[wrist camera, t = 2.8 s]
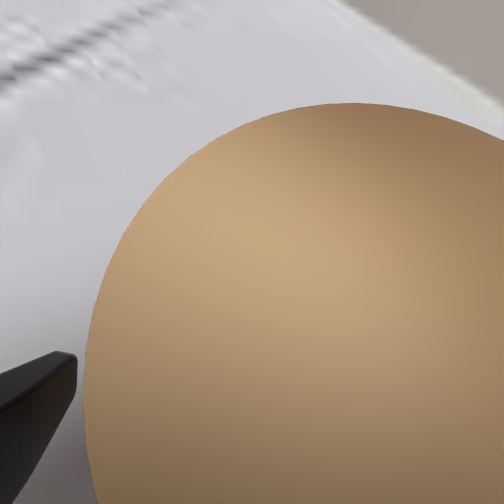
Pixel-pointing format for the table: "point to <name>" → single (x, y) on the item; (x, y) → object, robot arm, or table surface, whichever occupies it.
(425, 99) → the table surface
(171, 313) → the ribbed peg
